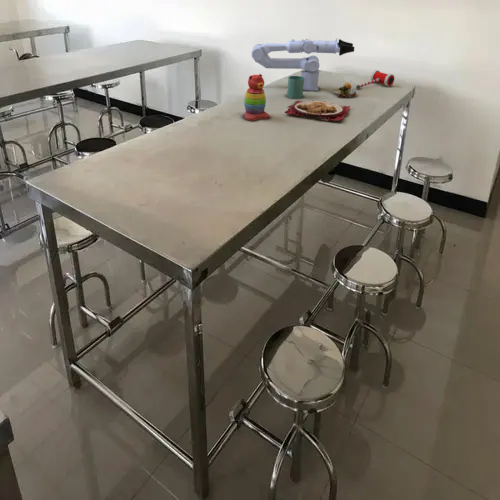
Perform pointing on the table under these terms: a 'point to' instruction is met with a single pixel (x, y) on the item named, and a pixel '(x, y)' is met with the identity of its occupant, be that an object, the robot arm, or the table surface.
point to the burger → (345, 91)
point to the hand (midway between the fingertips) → (353, 47)
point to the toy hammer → (379, 79)
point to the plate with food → (318, 110)
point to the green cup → (295, 87)
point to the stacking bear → (255, 99)
